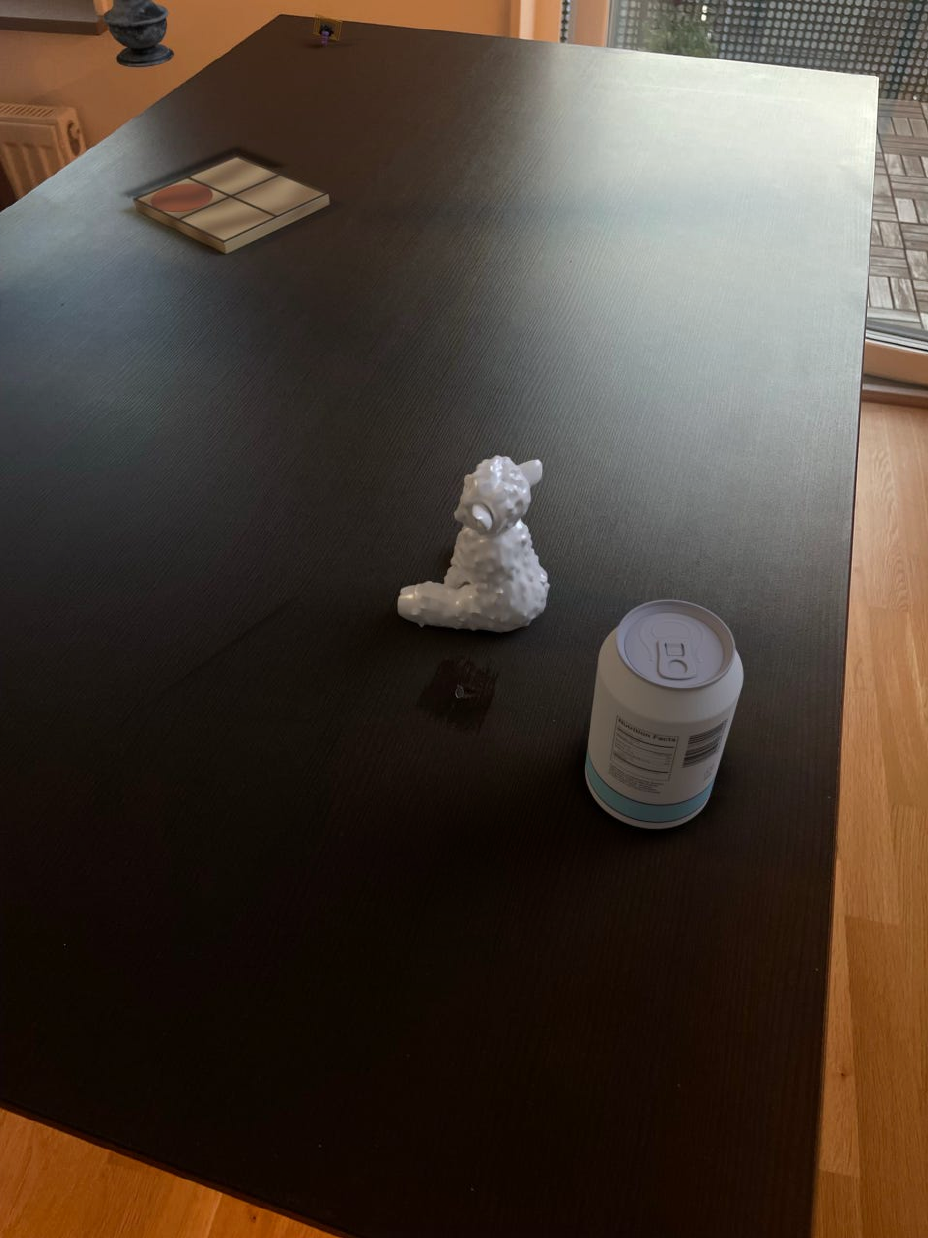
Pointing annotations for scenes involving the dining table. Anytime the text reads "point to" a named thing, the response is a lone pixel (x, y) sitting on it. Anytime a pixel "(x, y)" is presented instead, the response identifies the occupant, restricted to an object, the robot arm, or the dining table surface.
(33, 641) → the dining table surface
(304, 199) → the board
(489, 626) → the white creature statuette
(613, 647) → the beverage can
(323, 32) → the framed picture
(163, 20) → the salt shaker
